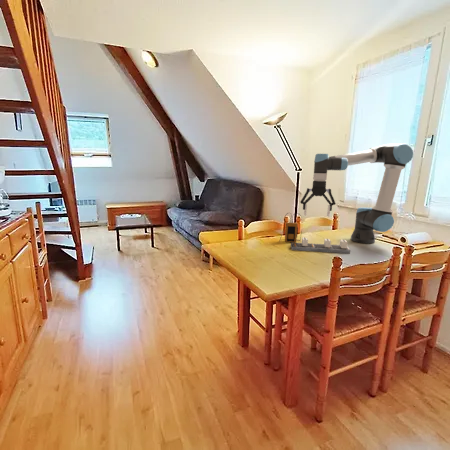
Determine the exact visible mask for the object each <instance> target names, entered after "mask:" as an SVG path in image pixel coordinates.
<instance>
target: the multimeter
mask: <svg viewBox="0 0 450 450" xmlns="http://www.w3.org/2000/svg"><path fill="white" fill-rule="evenodd" d="M288 214H289V212H287V213H286V214H285V216H284V220H283V221H284V225H283V226H284V227H283V230H282V233H281V235H280V239H279V240H282V239H281V238H282V236H283V233H284V242H285V243H291V242H293V243H297V241H299V242H301V241H302V237H300V239H297V238H298V231H299V228H298V223H297V222H294V218H291V220H290V222H288V221H287V222H286V221H285V220H286V219H285V218H286V217H287V215H288ZM296 214H297V215H299V216H300V218H301V220H303V217H302V215H301V214H300V213H298V212H296V213H294V215H296ZM290 217H293V215H292V214H290ZM302 234H303V230H301V234H300V235H302Z"/></svg>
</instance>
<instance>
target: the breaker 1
mask: <svg viewBox="0 0 450 450" xmlns="http://www.w3.org/2000/svg"><path fill="white" fill-rule="evenodd" d="M301 243H302V246H308V243H309V239H308V237H301Z"/></svg>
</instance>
